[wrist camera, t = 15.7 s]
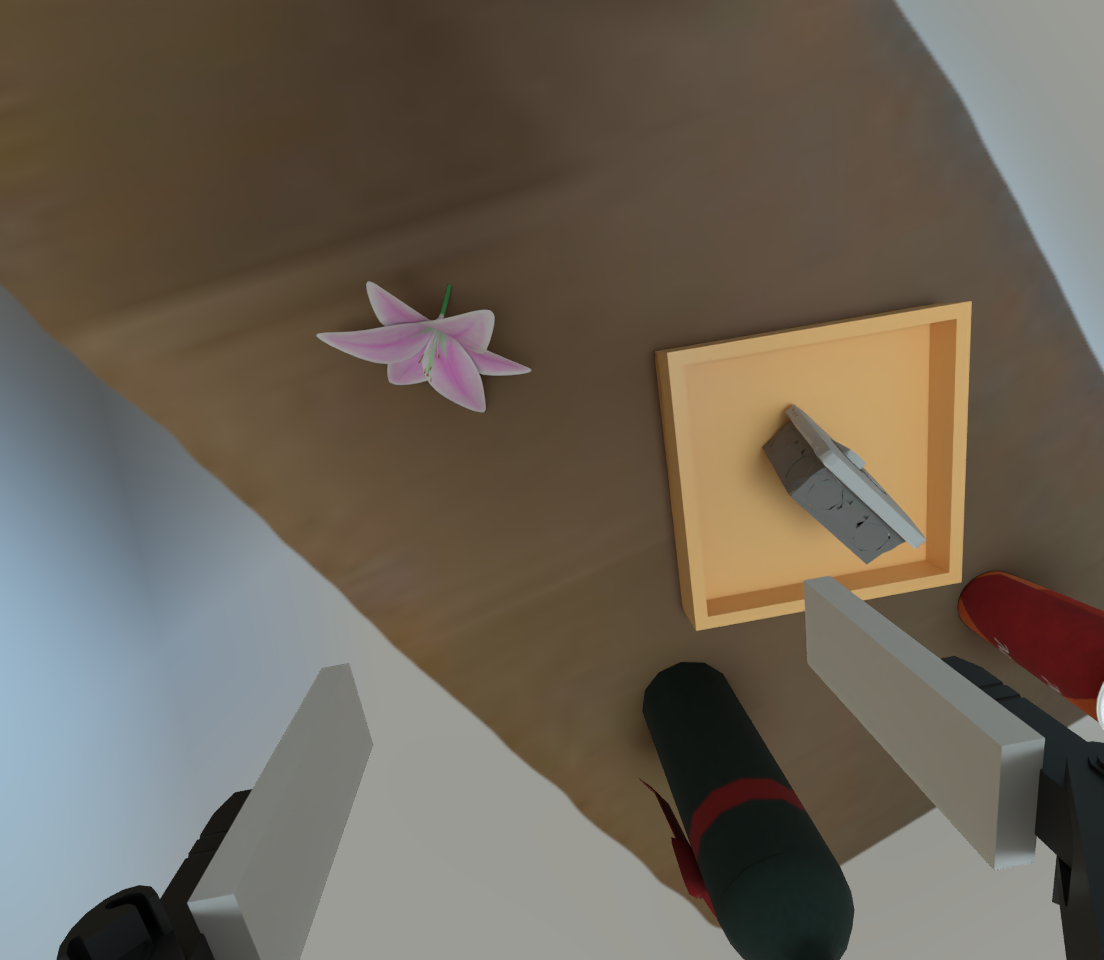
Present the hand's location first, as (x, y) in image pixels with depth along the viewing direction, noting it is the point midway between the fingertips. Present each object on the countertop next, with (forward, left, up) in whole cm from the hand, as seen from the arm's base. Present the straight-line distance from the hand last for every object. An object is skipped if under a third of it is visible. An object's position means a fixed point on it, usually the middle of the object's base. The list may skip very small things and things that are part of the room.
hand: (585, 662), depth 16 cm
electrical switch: (+4, +20, -26) cm, 33 cm away
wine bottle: (+24, +8, -27) cm, 37 cm away
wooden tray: (+4, +20, -27) cm, 34 cm away
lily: (-9, -6, -27) cm, 29 cm away
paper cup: (+19, +36, -27) cm, 49 cm away
